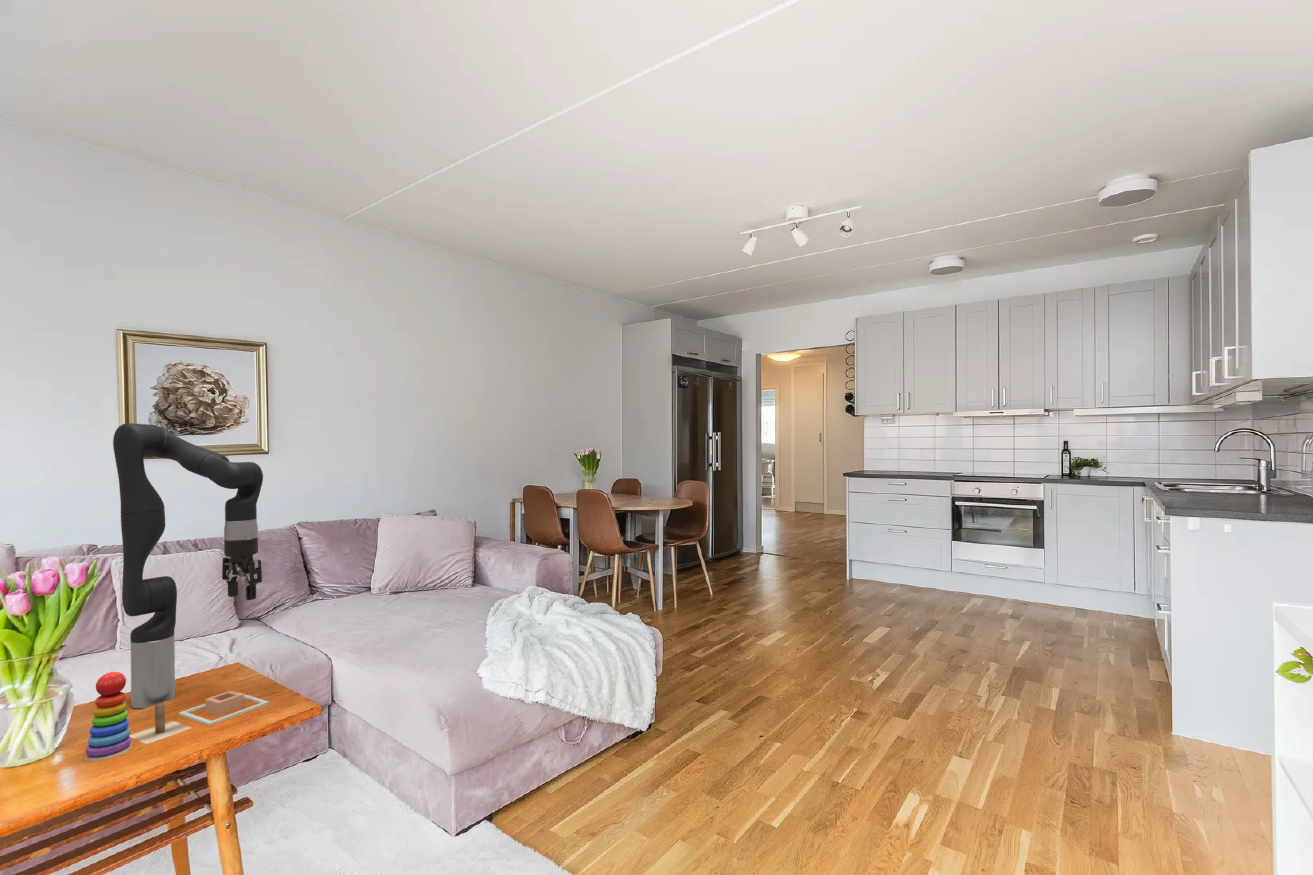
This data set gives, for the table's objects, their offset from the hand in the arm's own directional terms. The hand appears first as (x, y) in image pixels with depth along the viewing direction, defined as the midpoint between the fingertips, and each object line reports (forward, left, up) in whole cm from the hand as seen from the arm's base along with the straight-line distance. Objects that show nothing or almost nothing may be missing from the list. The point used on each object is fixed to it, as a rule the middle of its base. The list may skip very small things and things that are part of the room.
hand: (241, 597), depth 165 cm
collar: (+3, -6, -28) cm, 28 cm away
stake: (+3, -20, -28) cm, 35 cm away
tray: (+3, -6, -28) cm, 29 cm away
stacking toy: (+4, -30, -28) cm, 41 cm away
